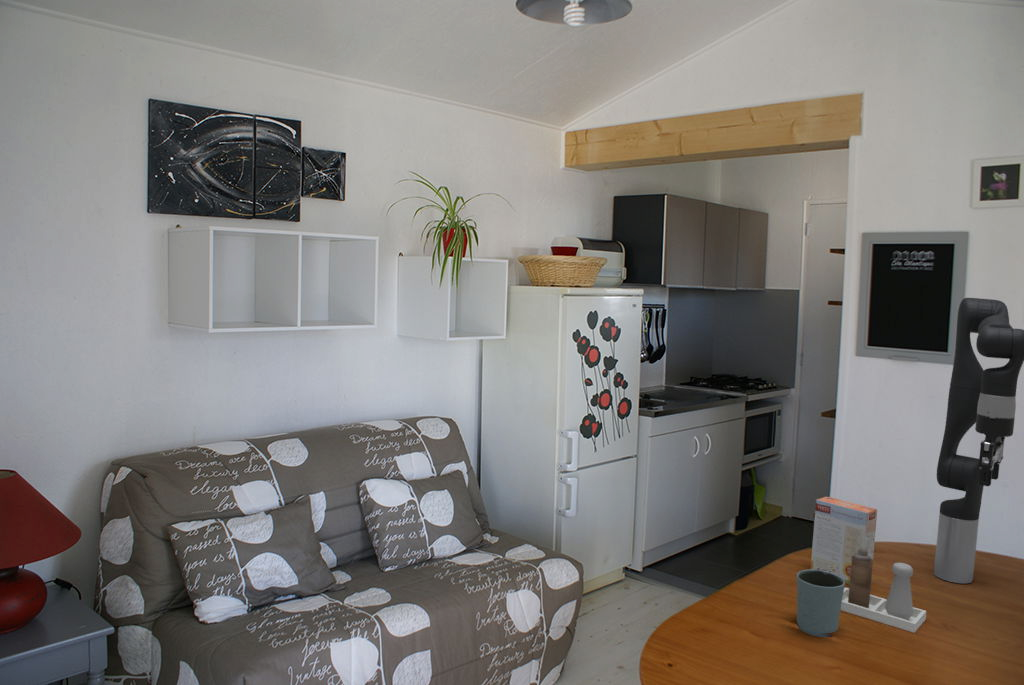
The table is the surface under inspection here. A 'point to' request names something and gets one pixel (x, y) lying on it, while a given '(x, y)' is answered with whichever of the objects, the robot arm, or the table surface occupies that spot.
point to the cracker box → (841, 535)
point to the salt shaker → (900, 592)
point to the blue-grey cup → (819, 601)
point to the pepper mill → (860, 578)
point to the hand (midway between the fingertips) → (988, 482)
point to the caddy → (883, 613)
